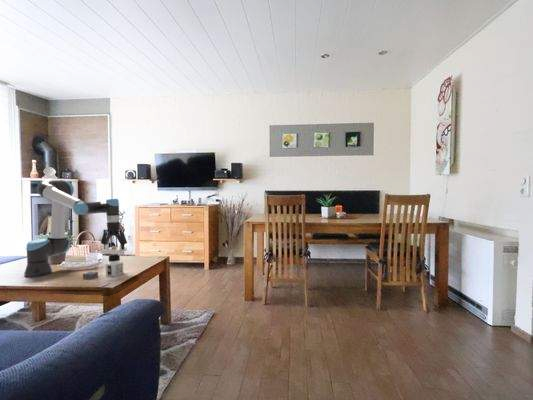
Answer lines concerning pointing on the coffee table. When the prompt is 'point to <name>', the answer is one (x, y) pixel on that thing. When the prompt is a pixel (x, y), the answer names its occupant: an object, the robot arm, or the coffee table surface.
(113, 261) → the container
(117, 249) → the lid
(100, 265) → the coffee table surface
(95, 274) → the stand
